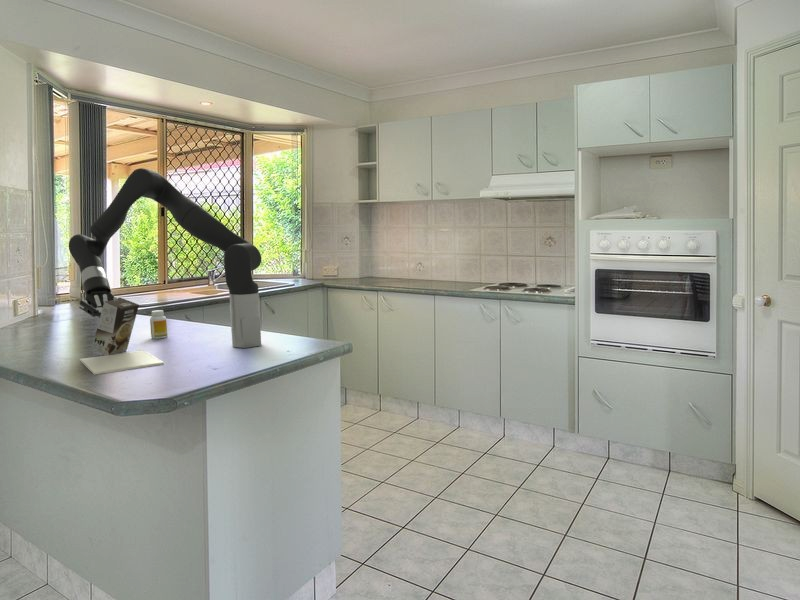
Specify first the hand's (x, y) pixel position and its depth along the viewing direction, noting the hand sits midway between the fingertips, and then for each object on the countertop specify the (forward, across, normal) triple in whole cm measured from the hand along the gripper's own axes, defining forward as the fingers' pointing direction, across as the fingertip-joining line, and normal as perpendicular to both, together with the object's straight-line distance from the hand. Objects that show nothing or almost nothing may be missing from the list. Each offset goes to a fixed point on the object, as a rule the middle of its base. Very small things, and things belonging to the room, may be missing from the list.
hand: (106, 324), depth 185 cm
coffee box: (+7, 0, +5) cm, 8 cm away
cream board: (+19, 0, -6) cm, 20 cm away
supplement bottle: (-5, +20, +19) cm, 28 cm away
